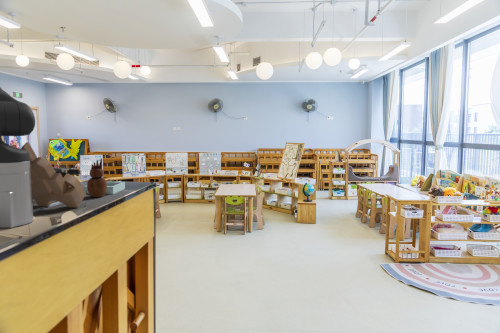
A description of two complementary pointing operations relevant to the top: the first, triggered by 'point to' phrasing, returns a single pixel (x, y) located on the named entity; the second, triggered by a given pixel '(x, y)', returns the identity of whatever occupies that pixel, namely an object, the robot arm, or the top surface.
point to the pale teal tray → (111, 187)
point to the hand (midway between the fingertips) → (73, 173)
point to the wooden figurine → (97, 181)
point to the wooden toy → (52, 183)
